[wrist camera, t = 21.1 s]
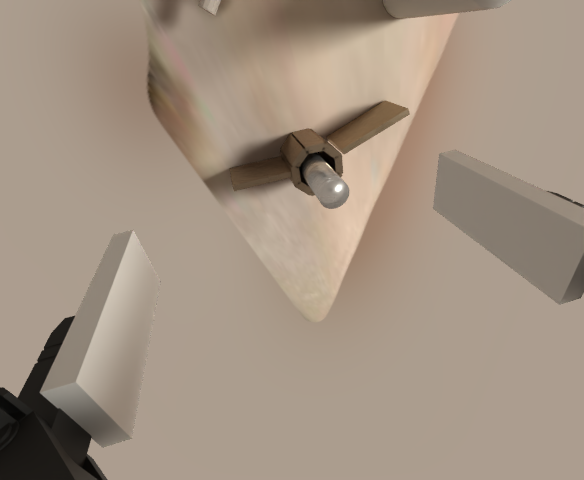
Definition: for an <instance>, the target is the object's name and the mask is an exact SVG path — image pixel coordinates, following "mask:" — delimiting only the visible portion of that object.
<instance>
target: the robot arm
mask: <svg viewBox="0 0 584 480" xmlns="http://www.w3.org/2000/svg"><path fill="white" fill-rule="evenodd" d="M433 209H434V210H435V211H437V212H438V213H439V214H441V215H442V216H443V217H445V218H446V219H447V220H449V221H450V222H451V223H453V224H454V225H455V226H456V227H458V228H459V229H461V230H462V231H463V232H464V233H466V234H467V235H468V236H470V237H471V238H472V239H474V240H475V241H476V242H478V243H479V244H480V245H482V246H483V247H484V248H485V249H487V250H488V251H490V252H491V253H492V254H493V255H495V256H496V257H497V258H499V259H500V260H501V261H502V262H504V263H505V264H506V265H508V266H509V267H510V268H512V269H513V270H514V271H516V272H517V273H518V274H520V275H521V276H522V277H523V278H525V279H526V280H528V281H529V282H530V283H531V284H533V285H534V286H535V287H537V288H538V289H539V290H541V291H542V292H543V293H545V294H546V295H547V296H548V297H550V298H551V299H553V300H554V301H555V302H556V303H558V304H563V303H566V302H570V301H573V300H576V299H579V298H581V297H582V295H583V293H584V205H582V204H580V203H578V202H573V201H572V200H571V199H568V198H566V197H564V196H562V195H559V194H557V193H553V192H549V191H545V190H543V189H541V188H538V187H536V186H534V185H532V184H530V183H527V182H525V181H523V180H521V179H519V178H516V177H514V176H512V175H510V174H508V173H506V172H503V171H501V170H499V169H497V168H495V167H492V166H490V165H488V164H486V163H484V162H481V161H479V160H477V159H475V158H473V157H470V156H468V155H466V154H464V153H462V152H459V151H457V150H452V151H448V152H444V153H440V154H439V161H438V170H437V179H436V187H435V197H434V206H433ZM160 282H161V281H160V280H159V277H158V276H157V274H156V272H155V270H154V268H153V266H152V264H151V263H150V261H149V259H148V257H147V255H146V253H145V251H144V250H143V248H142V246H141V244H140V242H139V240H138V238H137V237H136V235H135V233H134V231H133V230H131V231H127V232H123V233H119V234H115V235H113V237H112V239H111V241H110V243H109V245H108V247H107V249H106V251H105V254H104V256H103V258H102V260H101V262H100V264H99V267H98V269H97V271H96V273H95V275H94V277H93V279H92V281H91V284H90V286H89V288H88V290H87V292H86V294H85V296H84V298H83V301H82V303H81V305H80V307H79V309H78V311H77V313H76V316H72V317H69V318H65V319H64V320H63V321H62V322H61V323H60V324H59V325H58V326H57V328H56V329H55V330H54V331H53V332H52V333H51V335H50V337H49V339H48V340H47V342H46V344H45V346H44V350H43V351H42V352H41V354H40V356H39V358H38V360H37V361H38V363H36V364H35V365H34V367H33V370H32V371H31V373H30V375H29V377H28V379H27V381H26V383H25V385H24V387H23V388H22V391H21V392H20V395H19V396H18V398H17V397H15V396H14V395H13V394H12V393H10V392H9V391H8V390H6V389H5V388H0V480H107V479H106V477H105V476H104V474H103V473H102V471H101V470H100V468H99V467H98V466H97V464H96V463H95V461H94V460H93V459H92V458H91V457H90V456H89V455H88V454H87V451H88V448H89V444H90V441H91V438H92V439H93V440H95V441H96V442H97V443H98V444H99V445H100V446H101V447H106V446H109V445H112V444H115V443H119V442H122V441H125V440H128V439H131V438H132V434H133V428H134V422H135V417H136V411H137V406H138V401H139V395H140V390H141V385H142V380H143V374H144V369H145V363H146V357H147V352H148V347H149V342H150V336H151V330H152V325H153V320H154V315H155V309H156V304H157V298H158V292H159V287H160Z"/></svg>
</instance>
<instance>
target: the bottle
mask: <svg viewBox="0 0 584 480" xmlns="http://www.w3.org/2000/svg"><path fill="white" fill-rule="evenodd" d="M382 1H383V4H384V7H385V9H386V10H387V12H388V13H389V14H390V15H391V16H393V17H395V18H399V19H403V18H415V17H424V16H433V15H442V14H451V13H460V12H468V11H469V12H470V11H479V10H487V9H494V8H499V7H501V6H503V5H505V4H507V3H508V2H510V1H511V0H382Z"/></svg>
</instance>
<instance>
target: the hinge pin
mask: <svg viewBox="0 0 584 480" xmlns="http://www.w3.org/2000/svg"><path fill="white" fill-rule="evenodd" d="M299 171H300V173H301V174H302V176H303V177H304V179H305V180H306V182H307V183H308V185H309V186H310V188H311V189H312V191H313V192H314V194H315V195H316V197H317V198H318V199H319V201H320V202H321V204H322V205H323V206H324V207H326V208H329V209H334V208H338V207H340V206H341V205H343V204H344V203H345V202H346V200H347V198H348V196H349V188H348V185H347V184H346V183H345V182H344V181H343V180H342V179H341V178H340V177H339V176H338V174H337V173H336V172H335V171H334V170H333V169H332V168H331V167H330V166H329V165H328V164H327V163H326V162H325V161H324V159H323V158H322V157H321V156H320V155H319V154H318V153H317V152H315V153H311V154H308V155H307V156H306V158H305V159H304V161H303V162H302V164H301V165H300V166H299Z"/></svg>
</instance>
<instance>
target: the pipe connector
mask: <svg viewBox="0 0 584 480" xmlns="http://www.w3.org/2000/svg"><path fill="white" fill-rule="evenodd" d="M220 1H221V0H200V2H199V6H200V7H201V8H203V9H204V10H206V11H207V12H209V13H211V14H213V15H214V16H216V13H217V10H218V7H219V4H220Z"/></svg>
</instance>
